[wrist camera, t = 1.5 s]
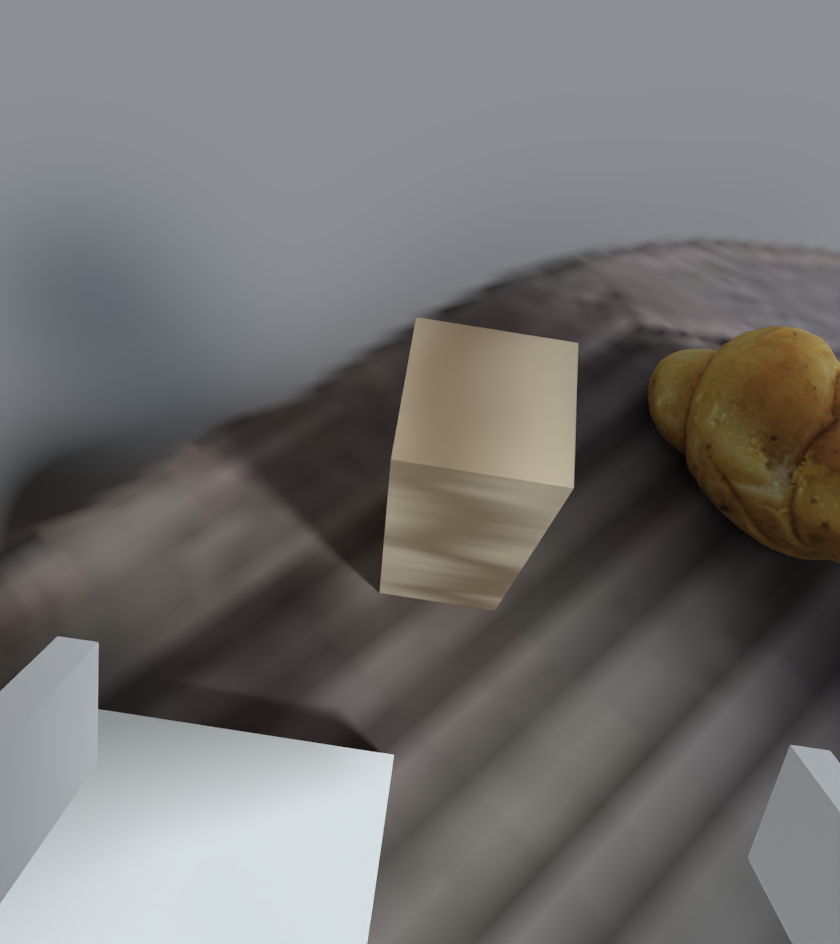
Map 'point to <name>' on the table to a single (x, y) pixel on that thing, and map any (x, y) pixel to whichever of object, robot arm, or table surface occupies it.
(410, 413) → the beech block
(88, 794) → the stone tile base
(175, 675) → the table surface
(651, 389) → the bread roll
